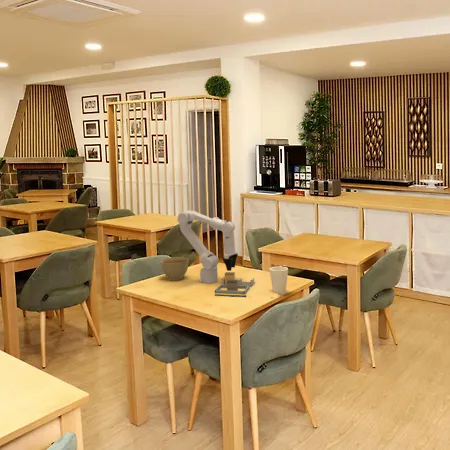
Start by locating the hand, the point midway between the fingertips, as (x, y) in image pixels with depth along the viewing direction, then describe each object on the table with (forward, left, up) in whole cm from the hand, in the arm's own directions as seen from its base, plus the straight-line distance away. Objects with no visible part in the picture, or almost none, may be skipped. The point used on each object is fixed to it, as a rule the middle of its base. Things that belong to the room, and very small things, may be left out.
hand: (231, 268), depth 305 cm
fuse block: (+4, -2, -9) cm, 10 cm away
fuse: (0, -2, -8) cm, 8 cm away
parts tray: (+4, -15, -9) cm, 18 cm away
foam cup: (+28, -11, -10) cm, 31 cm away
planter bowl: (-36, +11, -10) cm, 39 cm away
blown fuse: (+4, -15, -9) cm, 17 cm away
